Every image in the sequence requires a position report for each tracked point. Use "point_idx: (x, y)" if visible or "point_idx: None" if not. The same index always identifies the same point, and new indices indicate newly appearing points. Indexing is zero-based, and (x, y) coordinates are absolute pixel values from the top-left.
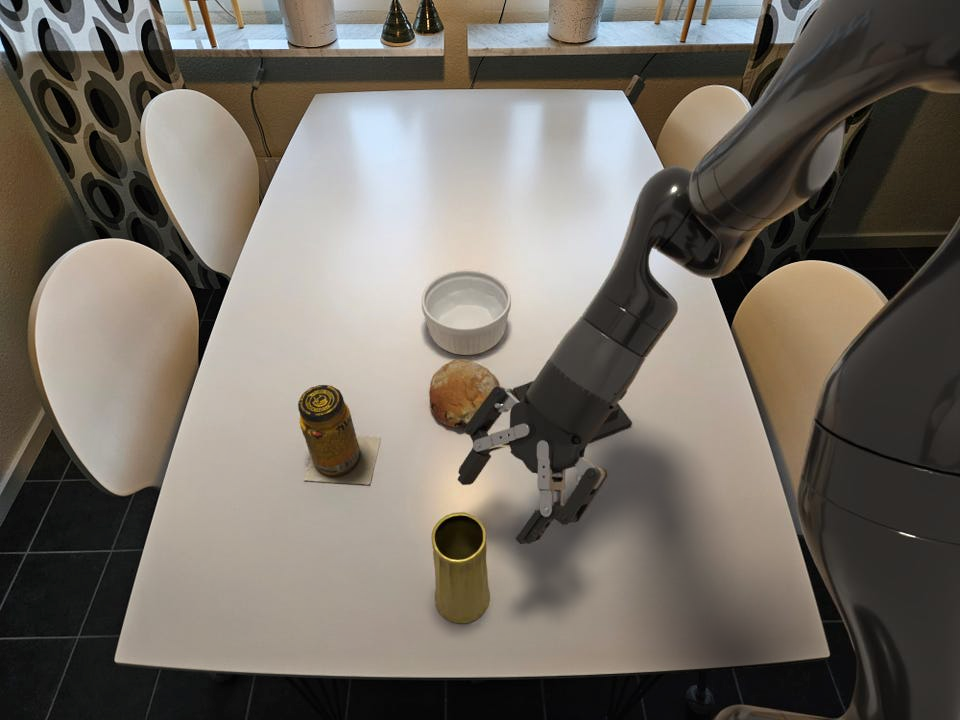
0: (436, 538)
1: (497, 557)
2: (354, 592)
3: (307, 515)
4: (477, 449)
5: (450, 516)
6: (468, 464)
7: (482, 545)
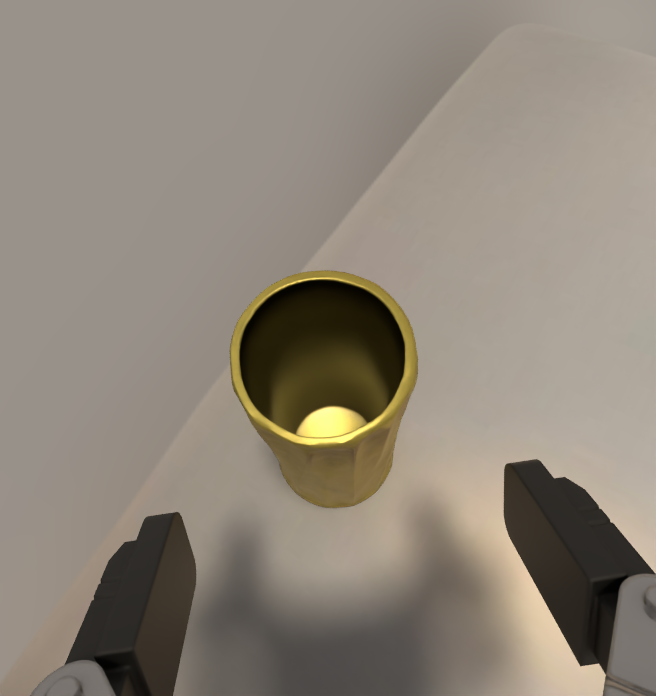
0: (378, 321)
1: (370, 568)
2: (450, 283)
3: (648, 270)
4: (636, 588)
5: (404, 365)
6: (574, 516)
7: (244, 400)
